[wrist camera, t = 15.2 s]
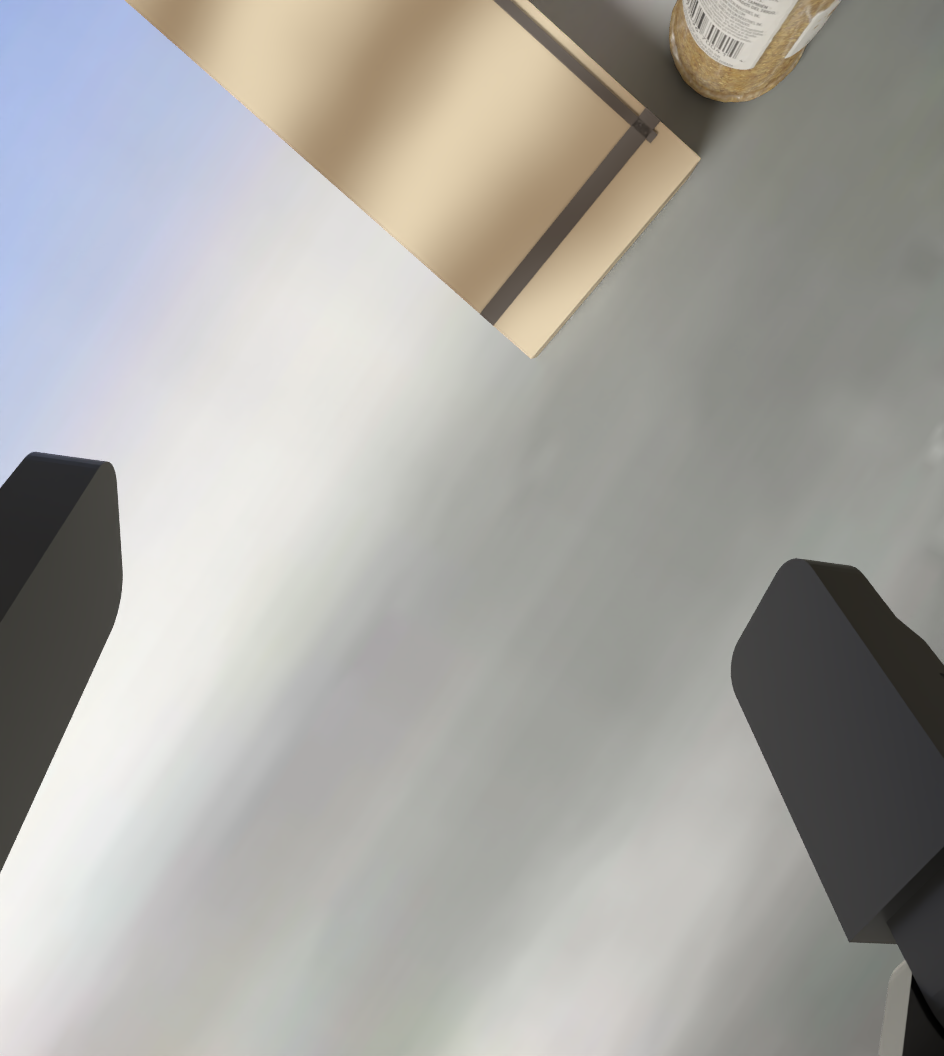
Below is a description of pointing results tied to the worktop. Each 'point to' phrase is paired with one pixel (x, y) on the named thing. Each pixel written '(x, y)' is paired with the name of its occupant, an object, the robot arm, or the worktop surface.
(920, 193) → the worktop surface
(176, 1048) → the worktop surface
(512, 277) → the maple plank
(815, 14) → the sprinkles bottle
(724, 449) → the worktop surface
